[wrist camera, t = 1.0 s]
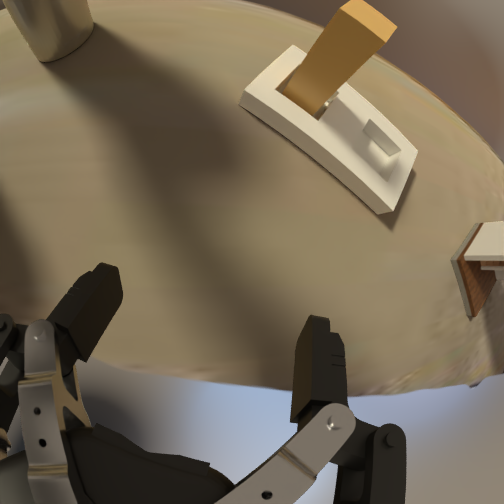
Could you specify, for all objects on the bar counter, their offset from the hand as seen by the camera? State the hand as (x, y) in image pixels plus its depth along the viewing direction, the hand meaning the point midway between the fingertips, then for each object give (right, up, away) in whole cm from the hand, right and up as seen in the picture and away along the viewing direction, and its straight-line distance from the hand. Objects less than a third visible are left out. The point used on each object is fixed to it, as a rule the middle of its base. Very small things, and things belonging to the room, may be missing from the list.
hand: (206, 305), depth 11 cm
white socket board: (+11, +16, +18) cm, 27 cm away
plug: (+7, +19, +17) cm, 26 cm away
